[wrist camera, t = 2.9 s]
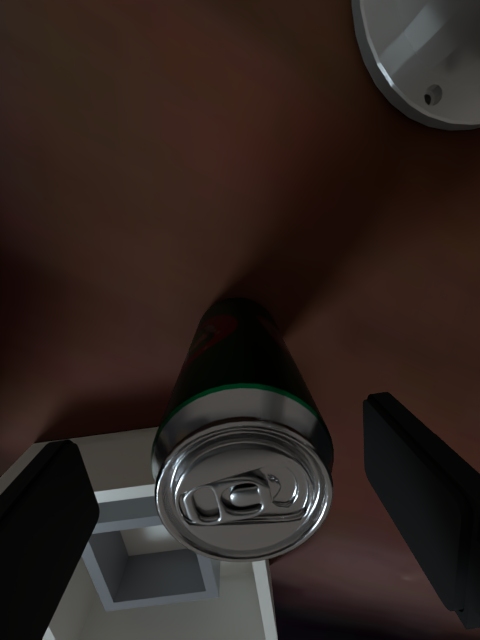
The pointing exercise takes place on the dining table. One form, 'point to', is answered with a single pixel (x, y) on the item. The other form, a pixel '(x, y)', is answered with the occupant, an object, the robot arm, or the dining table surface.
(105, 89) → the dining table surface
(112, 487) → the walled box
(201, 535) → the soda can
